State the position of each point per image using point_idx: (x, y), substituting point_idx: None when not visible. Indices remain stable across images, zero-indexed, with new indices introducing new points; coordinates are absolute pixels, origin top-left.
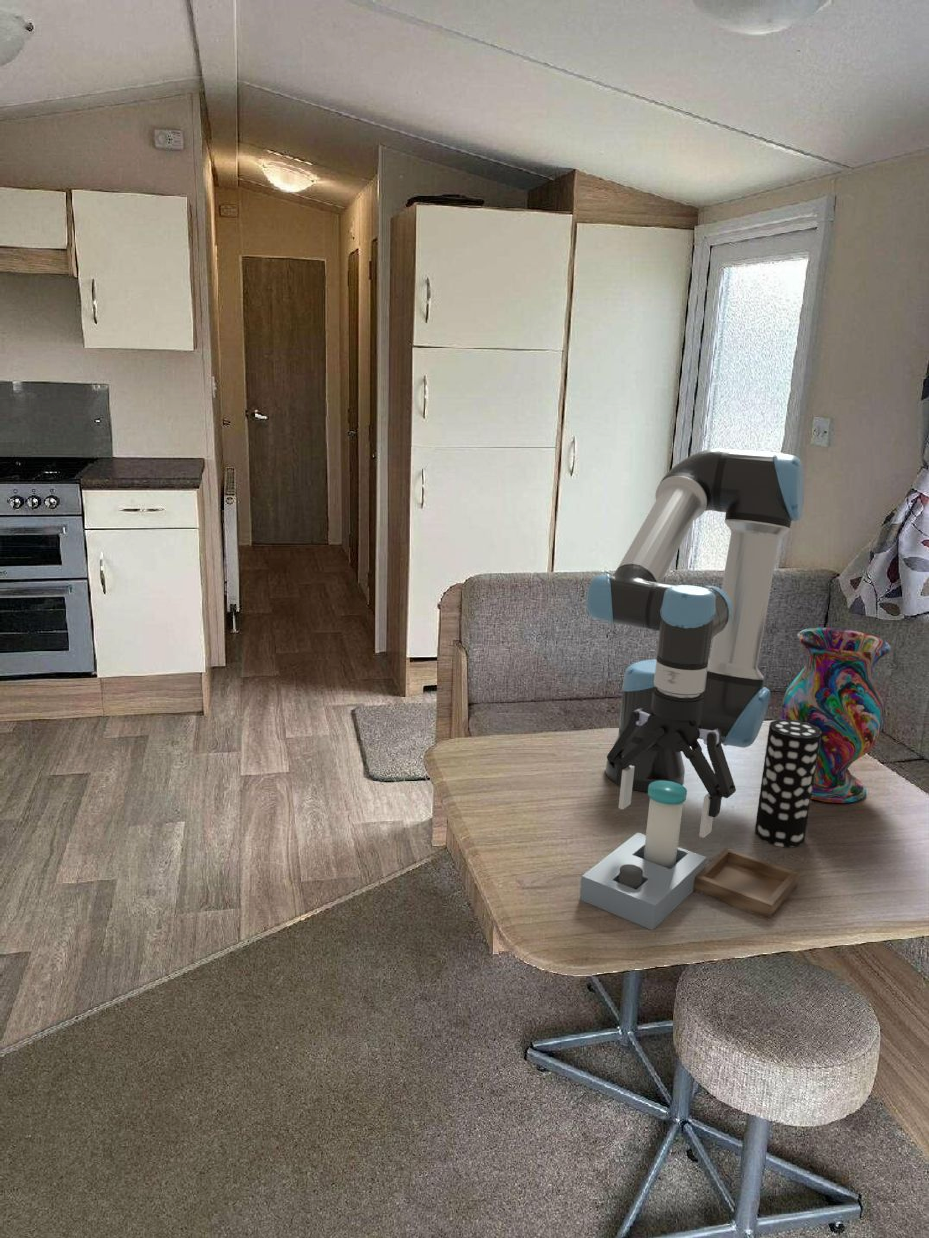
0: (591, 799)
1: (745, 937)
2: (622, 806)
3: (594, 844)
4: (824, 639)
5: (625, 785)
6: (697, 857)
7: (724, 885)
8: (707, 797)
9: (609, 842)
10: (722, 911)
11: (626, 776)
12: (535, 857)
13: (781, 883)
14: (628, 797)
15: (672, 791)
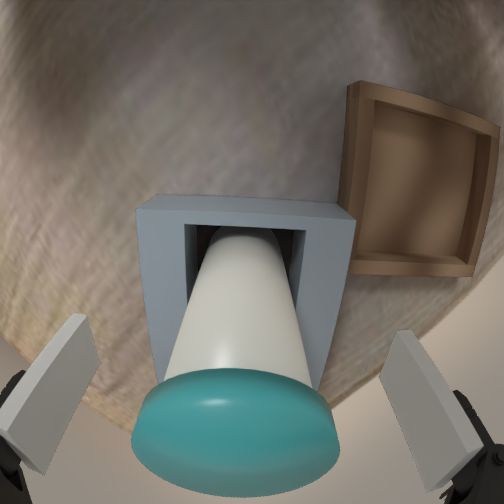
0: (2, 58)
1: (425, 329)
2: (95, 369)
3: (75, 216)
4: None
5: (65, 426)
6: (335, 237)
7: (400, 267)
8: (437, 488)
9: (90, 185)
10: (391, 290)
11: (51, 456)
12: (53, 322)
13: (468, 139)
14: (77, 355)
15: (268, 471)
